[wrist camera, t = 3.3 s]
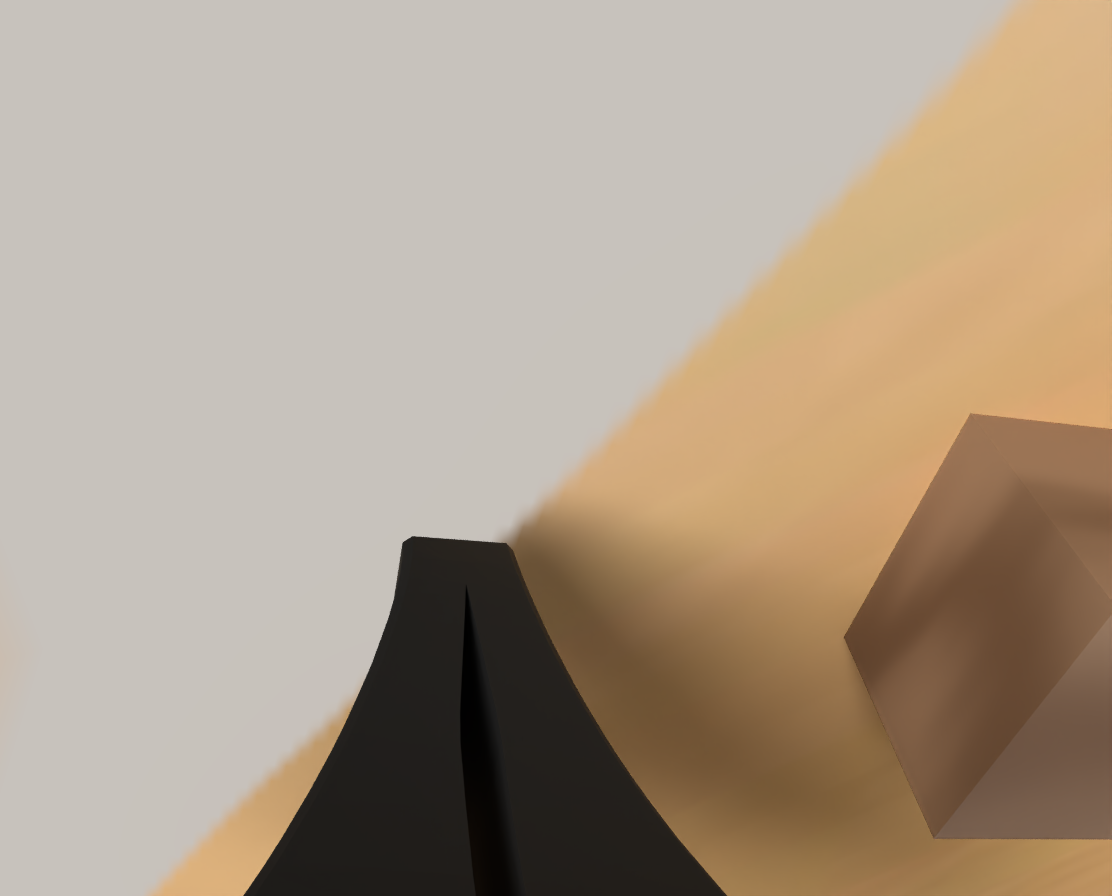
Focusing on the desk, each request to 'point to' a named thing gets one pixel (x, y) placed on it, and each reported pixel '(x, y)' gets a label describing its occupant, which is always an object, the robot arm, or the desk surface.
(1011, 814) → the walnut block
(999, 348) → the desk surface
